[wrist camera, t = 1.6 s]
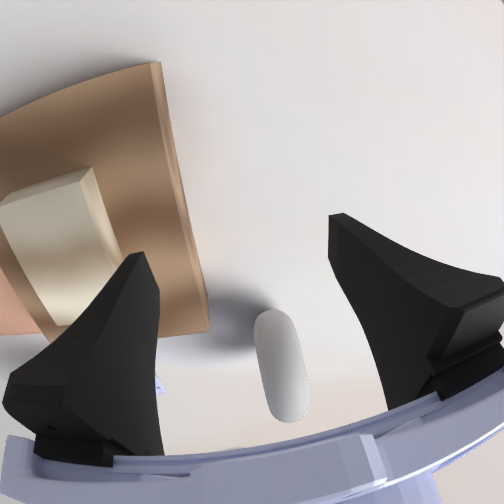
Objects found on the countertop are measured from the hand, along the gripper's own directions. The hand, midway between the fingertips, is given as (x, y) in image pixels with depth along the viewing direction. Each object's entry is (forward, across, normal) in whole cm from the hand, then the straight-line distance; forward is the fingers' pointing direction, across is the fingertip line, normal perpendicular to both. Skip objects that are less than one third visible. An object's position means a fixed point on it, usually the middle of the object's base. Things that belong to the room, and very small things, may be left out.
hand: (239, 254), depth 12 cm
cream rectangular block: (+5, +10, +1) cm, 11 cm away
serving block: (+9, +10, +1) cm, 14 cm away
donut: (+10, -2, +16) cm, 18 cm away
